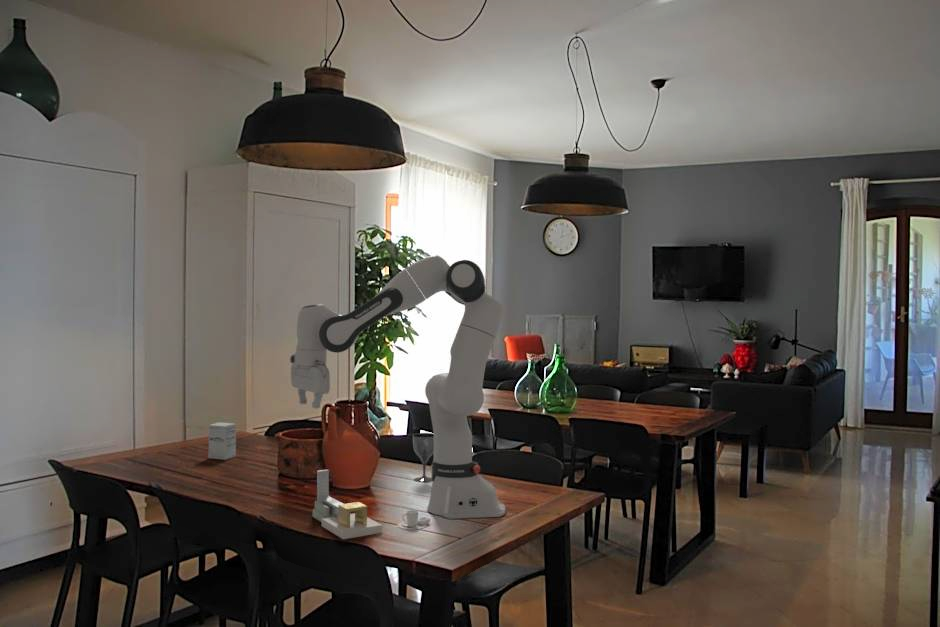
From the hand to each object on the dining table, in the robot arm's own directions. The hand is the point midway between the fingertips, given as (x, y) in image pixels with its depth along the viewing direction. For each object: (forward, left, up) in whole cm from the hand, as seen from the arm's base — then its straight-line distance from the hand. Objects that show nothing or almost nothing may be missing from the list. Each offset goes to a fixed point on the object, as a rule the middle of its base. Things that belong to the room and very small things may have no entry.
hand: (309, 406), depth 235 cm
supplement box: (+44, -62, -29) cm, 82 cm away
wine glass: (-33, -31, -29) cm, 54 cm away
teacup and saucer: (-35, +23, -29) cm, 51 cm away
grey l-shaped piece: (-10, +17, -26) cm, 33 cm away
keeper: (-17, +27, -27) cm, 42 cm away
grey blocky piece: (-9, +16, -29) cm, 34 cm away
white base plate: (-16, +26, -29) cm, 42 cm away
